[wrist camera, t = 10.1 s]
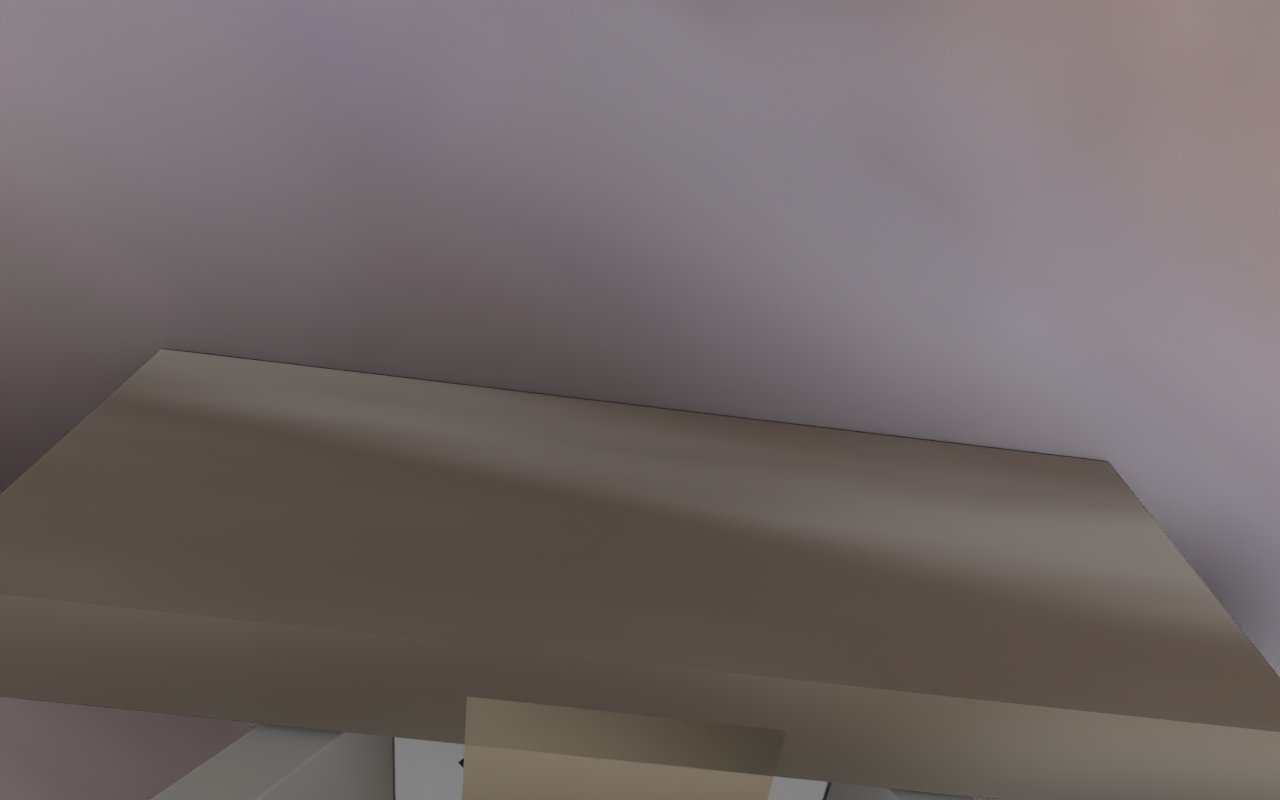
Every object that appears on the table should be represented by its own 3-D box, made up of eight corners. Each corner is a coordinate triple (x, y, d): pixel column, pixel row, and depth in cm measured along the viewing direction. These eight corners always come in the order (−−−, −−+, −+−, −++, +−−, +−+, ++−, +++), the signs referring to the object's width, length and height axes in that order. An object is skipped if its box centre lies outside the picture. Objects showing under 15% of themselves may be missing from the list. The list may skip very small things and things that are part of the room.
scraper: (942, 840, 15) (1035, 1154, 12) (220, 767, 15) (66, 1070, 11) (1108, 462, 12) (1327, 737, 8) (160, 348, 11) (-99, 584, 7)
